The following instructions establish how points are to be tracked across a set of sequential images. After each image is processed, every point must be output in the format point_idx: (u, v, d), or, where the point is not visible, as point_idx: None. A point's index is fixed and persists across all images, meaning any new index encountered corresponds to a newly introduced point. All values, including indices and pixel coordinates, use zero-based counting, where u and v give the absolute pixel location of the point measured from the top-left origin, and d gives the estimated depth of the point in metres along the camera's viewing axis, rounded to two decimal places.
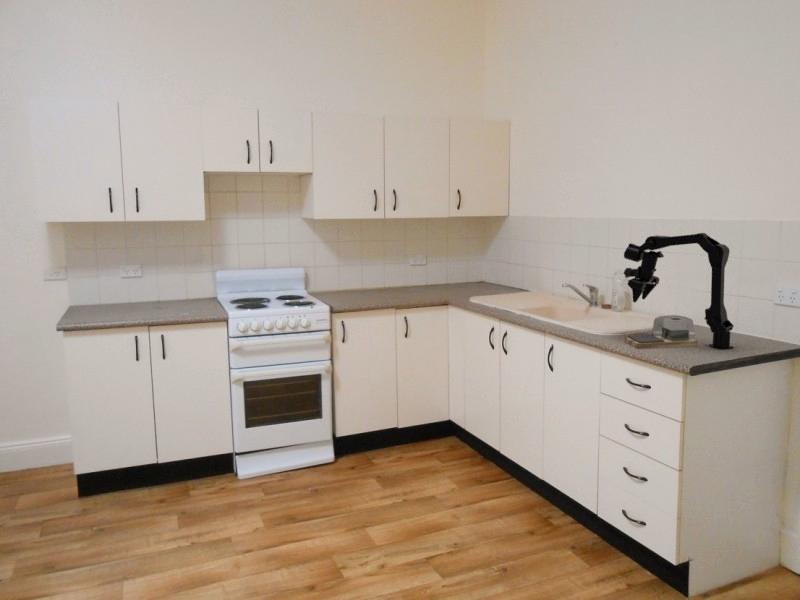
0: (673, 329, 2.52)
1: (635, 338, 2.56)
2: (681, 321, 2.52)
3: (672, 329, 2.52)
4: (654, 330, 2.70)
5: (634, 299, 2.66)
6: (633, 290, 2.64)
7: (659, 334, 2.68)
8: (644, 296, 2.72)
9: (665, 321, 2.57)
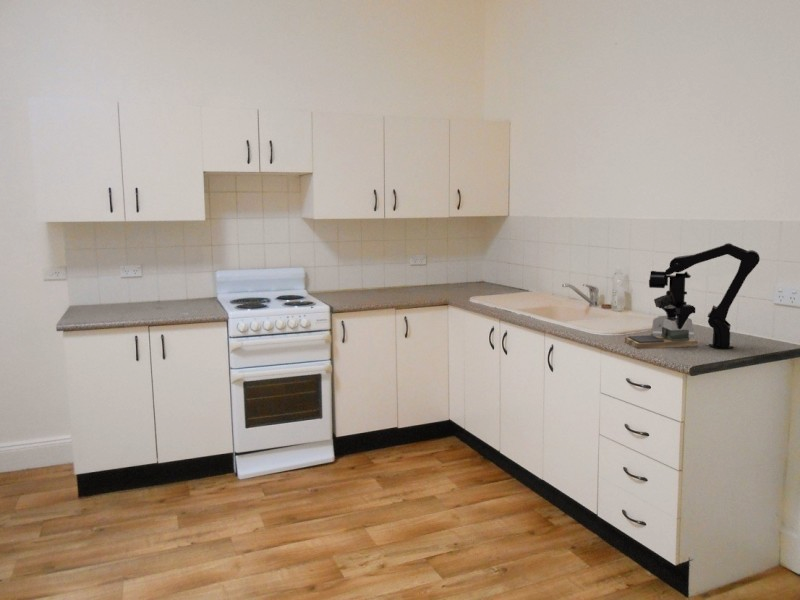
0: (673, 329, 2.52)
1: (635, 338, 2.56)
2: None
3: (672, 329, 2.52)
4: (653, 330, 2.70)
5: (680, 326, 2.52)
6: (679, 317, 2.50)
7: (659, 334, 2.68)
8: None
9: (665, 321, 2.57)
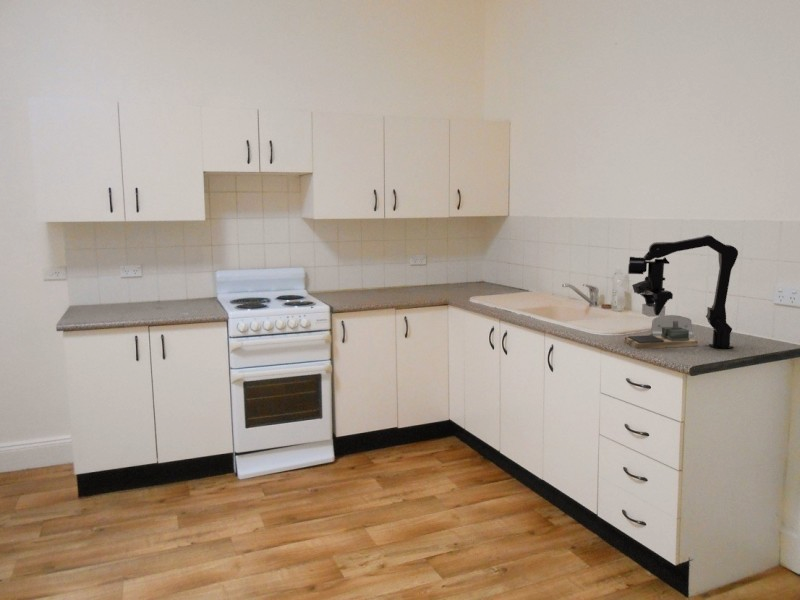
0: (651, 315, 2.51)
1: (635, 338, 2.56)
2: None
3: (649, 315, 2.51)
4: (653, 330, 2.70)
5: (657, 312, 2.50)
6: (657, 303, 2.48)
7: (659, 334, 2.68)
8: None
9: (643, 307, 2.55)
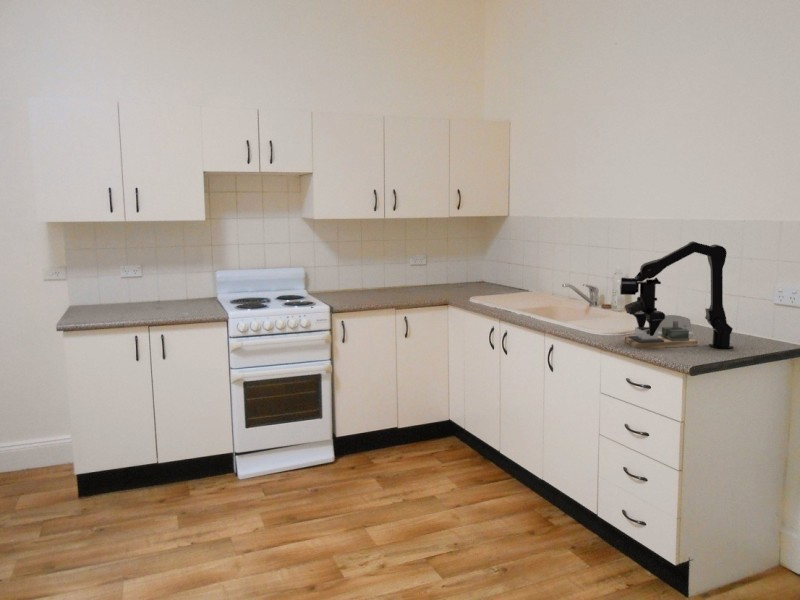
0: (643, 339, 2.52)
1: (635, 338, 2.56)
2: None
3: (642, 339, 2.52)
4: None
5: (652, 332, 2.50)
6: (651, 324, 2.48)
7: (658, 334, 2.68)
8: None
9: (636, 330, 2.56)
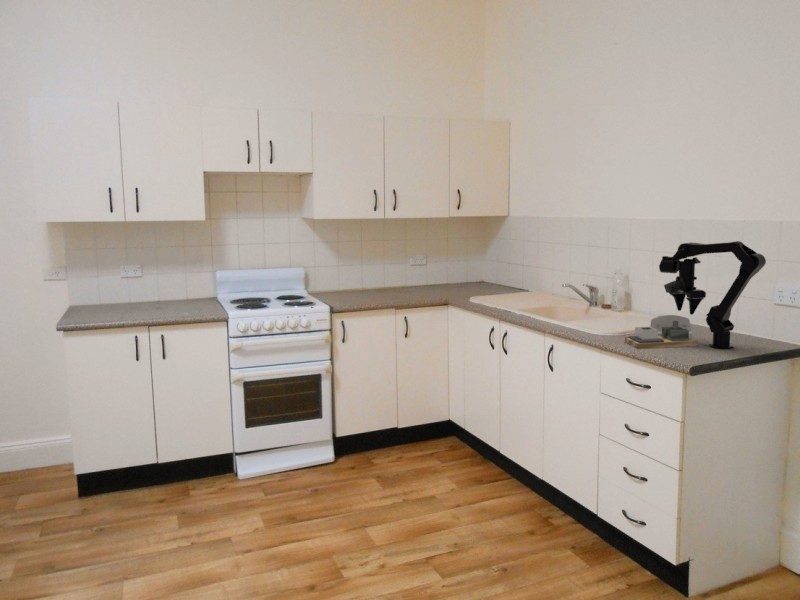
0: (643, 339, 2.52)
1: (635, 338, 2.56)
2: (651, 331, 2.52)
3: (642, 339, 2.52)
4: None
5: (692, 311, 2.53)
6: (691, 302, 2.51)
7: (658, 334, 2.68)
8: (680, 307, 2.62)
9: (636, 330, 2.56)
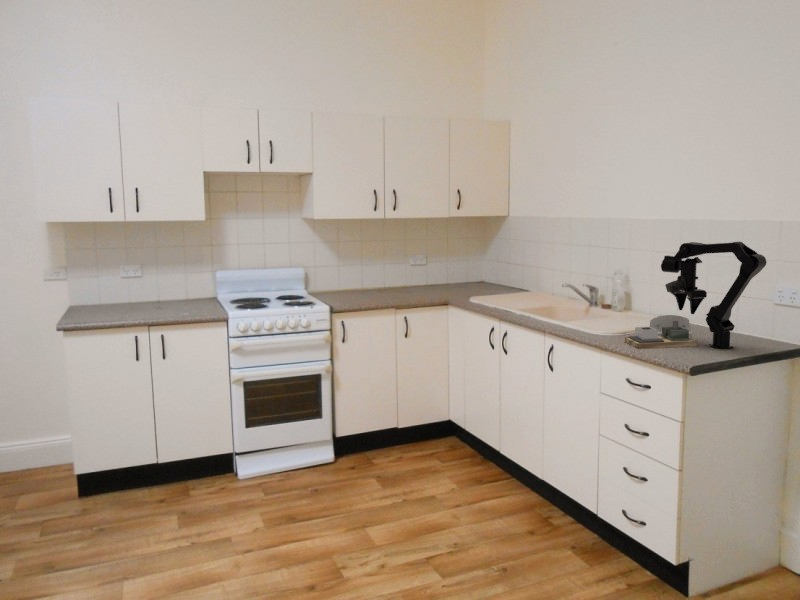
0: (643, 339, 2.52)
1: (635, 338, 2.56)
2: (651, 331, 2.52)
3: (642, 339, 2.52)
4: None
5: (693, 311, 2.53)
6: (692, 302, 2.51)
7: (658, 335, 2.68)
8: (682, 306, 2.62)
9: (636, 330, 2.56)
